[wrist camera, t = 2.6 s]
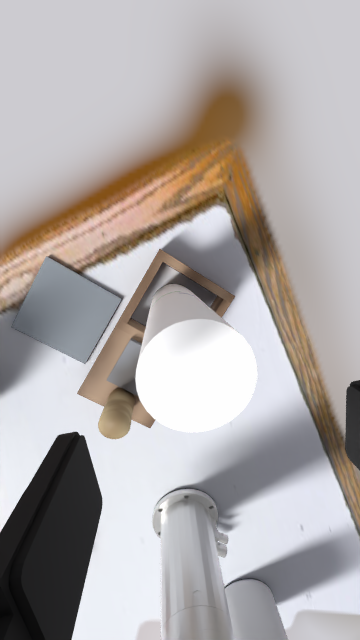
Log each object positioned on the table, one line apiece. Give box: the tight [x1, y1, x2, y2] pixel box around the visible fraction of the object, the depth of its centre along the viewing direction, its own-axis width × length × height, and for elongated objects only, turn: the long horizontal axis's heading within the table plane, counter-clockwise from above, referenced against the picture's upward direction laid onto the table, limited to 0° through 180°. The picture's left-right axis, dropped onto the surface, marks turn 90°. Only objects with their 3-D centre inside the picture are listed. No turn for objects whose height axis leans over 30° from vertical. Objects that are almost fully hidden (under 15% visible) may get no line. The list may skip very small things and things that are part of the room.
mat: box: [11, 257, 122, 364], centre depth 37 cm, size 12×12×1 cm
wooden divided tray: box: [77, 249, 235, 439], centre depth 35 cm, size 12×24×10 cm, turn 149°
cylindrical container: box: [135, 284, 257, 433], centre depth 26 cm, size 7×7×25 cm
